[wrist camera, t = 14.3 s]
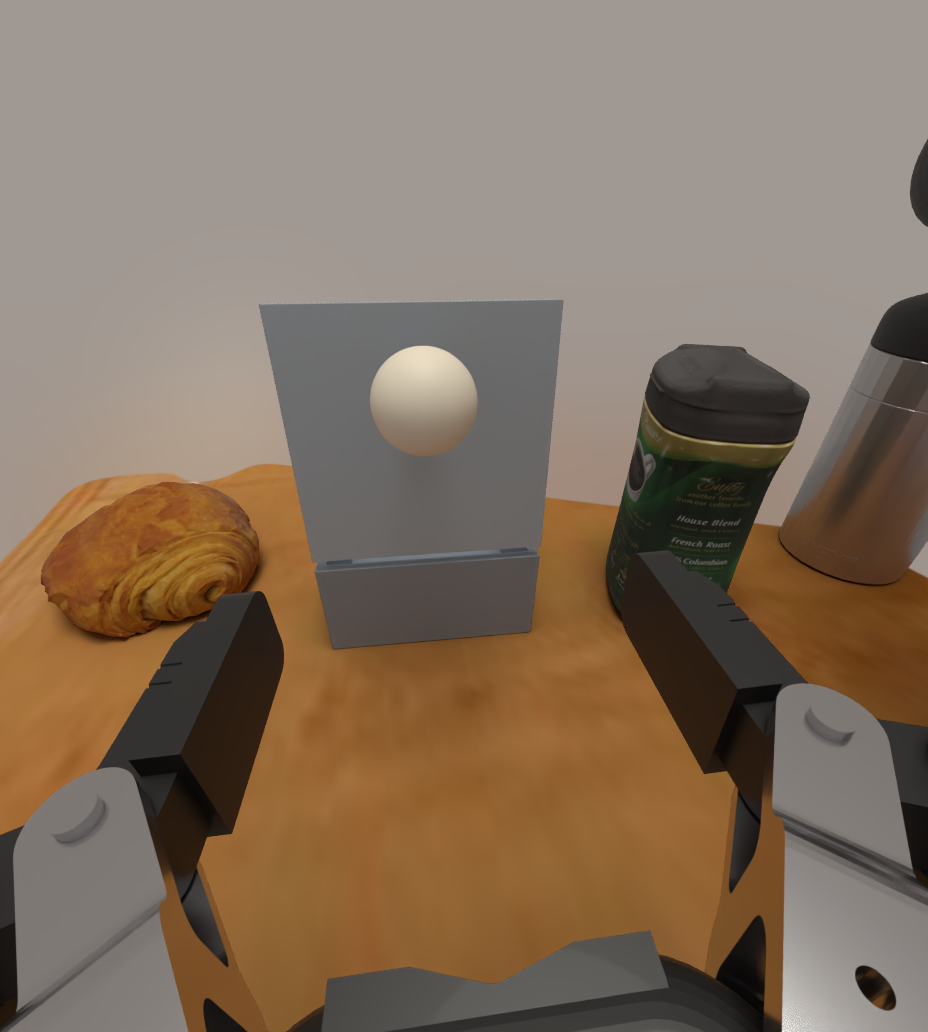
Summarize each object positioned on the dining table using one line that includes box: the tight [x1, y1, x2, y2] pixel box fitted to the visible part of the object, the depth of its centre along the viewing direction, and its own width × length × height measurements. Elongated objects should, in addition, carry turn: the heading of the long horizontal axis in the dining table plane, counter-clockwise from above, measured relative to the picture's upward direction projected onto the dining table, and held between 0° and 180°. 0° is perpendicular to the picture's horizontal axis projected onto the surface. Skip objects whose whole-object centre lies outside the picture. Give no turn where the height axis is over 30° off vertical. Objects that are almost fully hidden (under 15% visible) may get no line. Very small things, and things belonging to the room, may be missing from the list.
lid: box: [259, 299, 563, 562], centre depth 21 cm, size 14×14×9 cm
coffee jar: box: [606, 344, 810, 613], centre depth 31 cm, size 10×8×19 cm
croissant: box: [41, 482, 259, 637], centre depth 36 cm, size 14×16×8 cm
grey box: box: [315, 547, 540, 649], centre depth 36 cm, size 14×14×7 cm
